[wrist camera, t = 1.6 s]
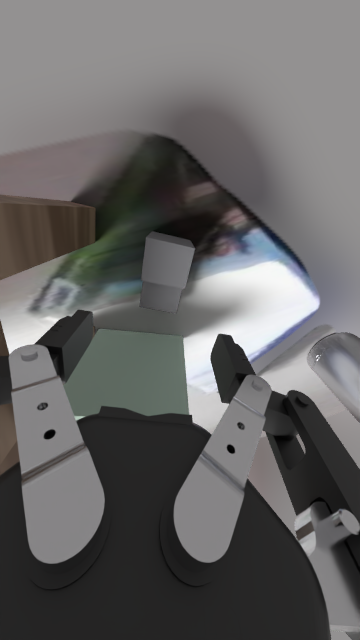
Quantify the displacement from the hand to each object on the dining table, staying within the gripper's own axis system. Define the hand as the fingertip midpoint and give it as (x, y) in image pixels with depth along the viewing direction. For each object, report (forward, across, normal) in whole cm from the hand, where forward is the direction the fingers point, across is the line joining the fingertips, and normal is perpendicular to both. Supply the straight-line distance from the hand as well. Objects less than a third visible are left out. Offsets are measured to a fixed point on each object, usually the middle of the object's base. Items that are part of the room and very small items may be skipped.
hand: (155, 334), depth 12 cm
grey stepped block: (+17, 0, 0) cm, 17 cm away
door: (+16, +2, +12) cm, 20 cm away
